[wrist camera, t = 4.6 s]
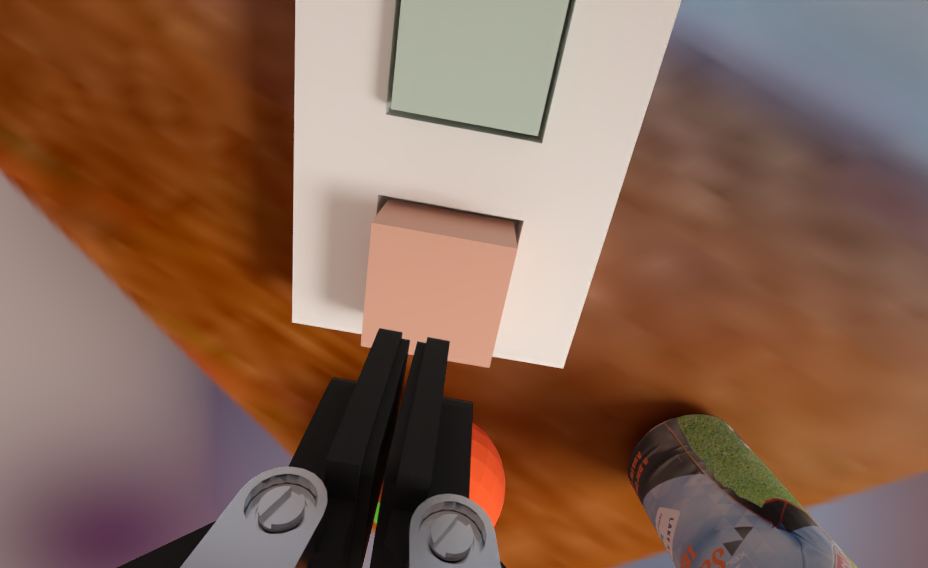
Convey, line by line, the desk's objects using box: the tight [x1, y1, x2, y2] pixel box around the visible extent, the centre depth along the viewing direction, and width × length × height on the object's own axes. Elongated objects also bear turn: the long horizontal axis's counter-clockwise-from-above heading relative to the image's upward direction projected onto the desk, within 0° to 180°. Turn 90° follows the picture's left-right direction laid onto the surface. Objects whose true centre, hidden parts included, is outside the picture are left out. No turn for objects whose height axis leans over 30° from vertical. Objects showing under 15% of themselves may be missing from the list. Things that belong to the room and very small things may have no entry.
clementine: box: [373, 422, 505, 528], centre depth 23 cm, size 8×7×7 cm
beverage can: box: [628, 414, 857, 568], centre depth 21 cm, size 6×7×12 cm
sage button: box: [391, 0, 569, 136], centre depth 16 cm, size 5×5×3 cm
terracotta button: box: [361, 199, 518, 368], centre depth 18 cm, size 5×5×3 cm
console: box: [292, 0, 682, 368], centre depth 17 cm, size 12×24×3 cm, turn 170°
